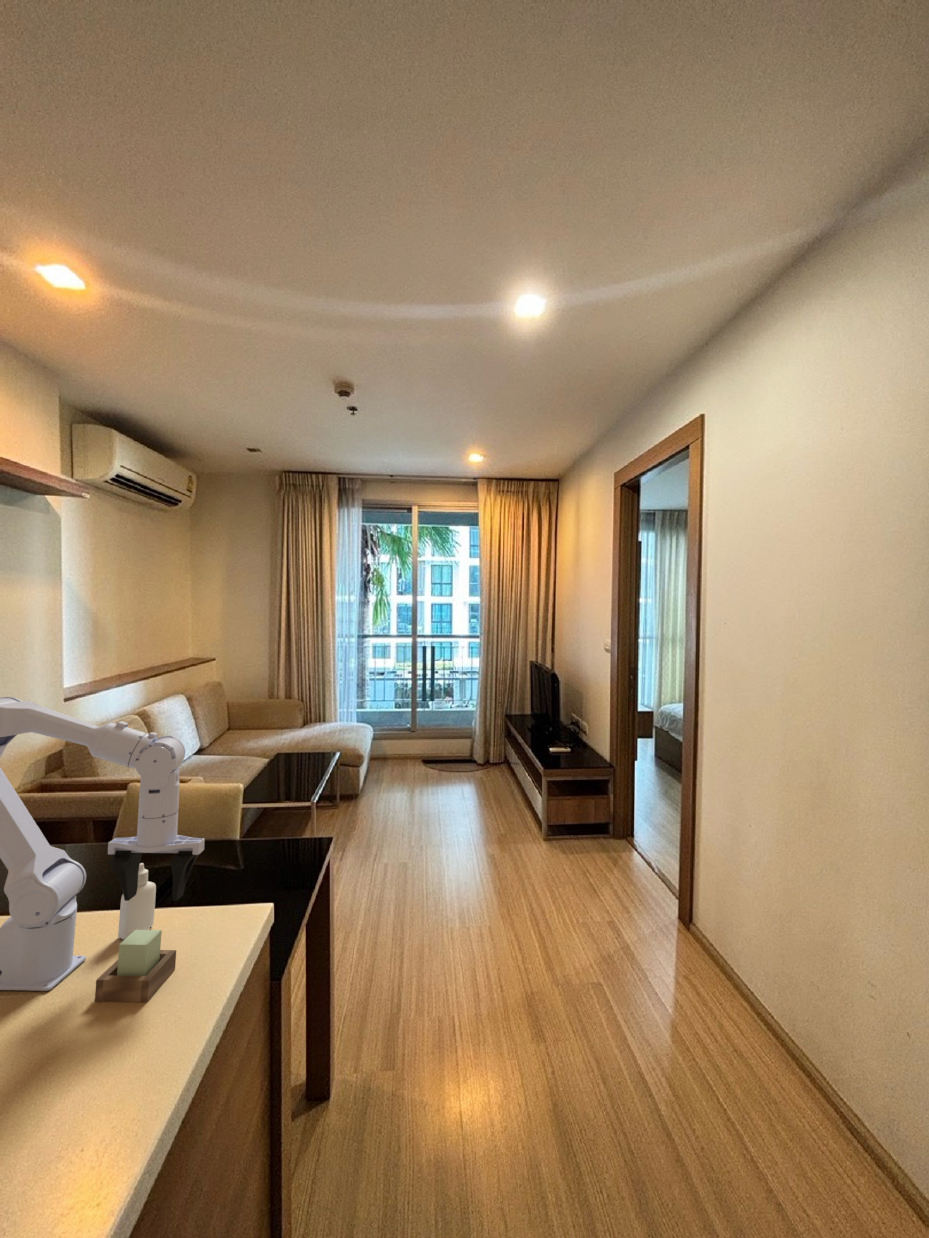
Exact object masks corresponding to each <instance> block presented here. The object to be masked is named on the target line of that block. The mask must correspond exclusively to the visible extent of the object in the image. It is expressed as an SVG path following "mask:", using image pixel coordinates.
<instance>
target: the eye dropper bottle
mask: <svg viewBox="0 0 929 1238" xmlns="http://www.w3.org/2000/svg"><path fill="white" fill-rule="evenodd" d="M156 893H157V885H156V883H155V882H152V881H149V870H148V869H146V868H145V864H144V862H140V865H139V871H138V887H137V893H136V895H135V896H134V897H133V898H131V899H130V900H129V901H125V900H124V895H123V894H122V895H121V898H120V907H119V908H120V909H119V920H118V932H117V937H118V939H120V938H121V939H120V940H122V941H124V940H125V939H126V938H127V937H128V936H129V935H130V934H132V933H133V932H134V931H135V930H148V929H149V928H150V927H151V928H152V927H153V926H154V923H155V921H154V920H155V909H156V908H155V907H156V897H157V896H156ZM152 925H153V926H152ZM151 928H150V929H151ZM150 929H149V930H150Z"/></svg>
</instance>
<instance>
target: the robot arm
mask: <svg viewBox="0 0 929 1238" xmlns="http://www.w3.org/2000/svg"><path fill="white" fill-rule="evenodd" d="M128 726H129V723H128V722H126V721H123V720H121V721H117V722H107V723H105V724H103V725H101V726H99V725H96V724H92V723H90V722H87V721H85V720H83V719H79V718H77V717H74V716H71V715H68V714H66V713H62V712H59V711H57V710H54V709H52V708H49V707H47V706H46V707H45V706H43V705H41V704H38V703H36V702H34V701H30V700H22V699H20V698H17V697H15V696H2V697H0V758H1V757H2V755H3V754H4V751H5V749H7V746H8V745H9V744H10V743H11V742H12V741H13V740H14V739H15V738H16V737H17V735H21V734H28V733H34V734H39V735H41V736H46V737H50V738H54V739H58V740H61V741H66V742H70V743H74V744H78V745H81V746H85V747H87V749H88V751H89V754H90V755H91V756H92V757H93V758H97V759H99V760H103V761H106V762H110V763H113V764H116V765H120V766H123V767H126V768H131V769H135V771H136V773H137V774H138V775H139V776H140V782H139V783H140V784H139V793H138V794H139V795H138V796H139V797H138V814H137V829H136V830H137V831H136V836H130V837H129V836H128V837H114V838H113V839H112V840H110V841H108V844H107V845H108V846H107V855H113V858H111V859H110V860H109V866H110V867H111V869H112V870H113V872H114V873H115V874H116V877H117V879H118V881H119V884H120V887H121V890H122V891H121V892H122V895H124V900H125V901H129V900H130V899H131V898H133V897H134V896H135V895H136V893H137V887H138V871H139V865H140V863H141V859H142V856H143V854H148V853H149V854H177V855H175V856H174V857H173V858H172V859H170V861H169V864H170V869H171V873H172V875H171V876H172V892H171V893H172V894H171V895H172V898H171V899H172V902H173V901H174V902H175V901H179V899H181V898H182V897H183V896H184V893H185V889H186V884H187V882H188V879H189V876H190V874H191V871H192V869H193V867H194V865H195V863H196V861H197V859H198V857H199V856H200V854H202V853H203V851H205V842H206V841H205V838H204V837H203V838H201V837H200V838H199V837H191V836H186V835H182V834H181V835H180V834H178V827H179V825H178V824H179V807H180V806H179V805H180V785H181V783H180V772H181V770H180V769H181V768H180V767H179V766H180V765H181V764H182V762H183V761H184V759H185V757H186V749H185V746H184V744H183V743H182V741H180V739H178V738H175V737H173V736H172V735H163V736H160V737H158V733H157V732H154V731H152V732H149V733H147V732H144V731H142V730H138V729H134V728H131V727H128ZM0 860H1V862H2V864H3V865H4V866H5V868H6V869H7V871H8V873H7V875H6V876H7V877H6V880H5V882H4V887H3V892H4V894H5V895H6V897H7V898H8V903H9V904H8V912H9V915H10V917H8V918H7V919H6V920H5V921H4V922H3V923H2V924H1V926H0V991H40V992H43V991H45V992H46V991H50V990H52V989H54V987H56V986H57V985H58V984H59V983H60V982H61V981H63V980H64V979H65V978H66V977H67V976H68V975H69V974H70V973H72V972H73V971H74V970H75V969H76V968H77V967H79V966H80V965H81V964H82V963H83V962H85V961H86V960H87V956H86V955H74V948H75V939H76V938H75V937H76V936H75V935H76V925H77V924H76V923H77V912H78V903H77V894H78V893H80V891H82V889H84V887H85V884H86V882H87V881H86V880H87V871H86V869H85V868H84V866H83V865H82V864H81V863H79V862H78V861H76V860H74V859H72V858H71V857H70V856H69V855H68V853H67V852H66V851H65V850H64V849H61V848H58V847H55V846H52V845H51V844H50V843H49V842H48V840H47V838H46V837H45V835H44V834H43V832H42V830H41V829H40V827H39V826H38V825H37V823H36V821H35V819H34V818H33V816H32V815H31V814H30V812H29V810H28V808H27V806H26V805H25V804H24V802H23V800H22V799H21V798H20V796H19V795H18V793H17V791H16V790H15V788H14V786H13V785H12V783H11V781H10V780H9V778H8V777H7V775H6V774H5V772H4V770H3V769H2V768H1V766H0Z"/></svg>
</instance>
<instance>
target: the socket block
mask: <svg viewBox="0 0 929 1238" xmlns="http://www.w3.org/2000/svg"><path fill="white" fill-rule="evenodd" d="M176 958H177V950H175V949H160V960H159V963H158V964H157V965H156V966H155V967H154V968H153V969H152V970H151V971H150V972H149V974H148V975H147V976H117V970H118V959H116V960H115V962H113V964H111V965H110V966H109V967H108V968H107V969H106V970H105V971H104V972H103V973H102V974H101V975H100V976H99V977H98V978H97V979H96V980H95V981H96V982H95V992H94V1002H103V1003H104V1002H105V1003H106V1002H111V1003H113V1002H115V1003H116V1002H117V1003H119V1002H121V1003H122V1002H123V1003H125V1002H126V1003H149V1001H150V1000H151V999H152V997H153V996H154V995H155V994H156V992H158V990H160V988H161V987H162V986H163V984H164V983H165V982H166V981H167V980H168V978H170V976H171V975H172V974H173V973H174V971H175V970H176V963H177V962H176V961H177V959H176Z"/></svg>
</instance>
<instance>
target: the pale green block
mask: <svg viewBox="0 0 929 1238" xmlns="http://www.w3.org/2000/svg"><path fill="white" fill-rule="evenodd" d="M162 933H163V931H162V930H161V929H149V930H135V931H134V932H133V933H132V934H130V935H129V936H128V937H127V938H126V939H125V940H122V941H121V942H120V943H119V947H118V957H117V958H118V959H117V960H118V970H117V976H147V975H148V974H149V972H150V971H151V970H152V969H153V968H154V967H155V966H156V965H157V964H158V963H159V960H160V950H161V946H162Z"/></svg>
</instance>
